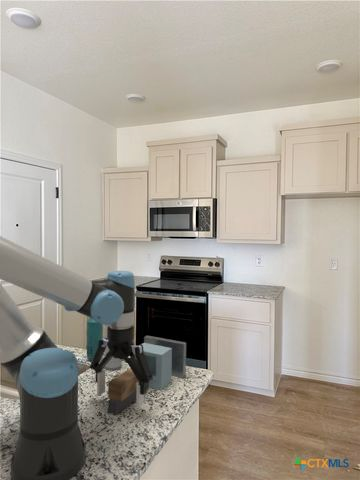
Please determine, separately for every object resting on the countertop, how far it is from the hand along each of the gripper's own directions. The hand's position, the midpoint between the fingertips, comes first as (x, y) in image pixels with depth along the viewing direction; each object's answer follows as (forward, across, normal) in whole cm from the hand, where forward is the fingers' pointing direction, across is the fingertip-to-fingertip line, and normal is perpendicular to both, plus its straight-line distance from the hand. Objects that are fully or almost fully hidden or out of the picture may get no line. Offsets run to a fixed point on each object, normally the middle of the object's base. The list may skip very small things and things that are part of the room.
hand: (120, 399), depth 95 cm
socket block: (+2, 0, -18) cm, 18 cm away
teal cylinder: (+3, +30, -24) cm, 39 cm away
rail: (+2, 0, -5) cm, 6 cm away
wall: (+3, 0, -26) cm, 27 cm away
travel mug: (+3, +19, -21) cm, 29 cm away
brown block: (-1, 0, -4) cm, 5 cm away
